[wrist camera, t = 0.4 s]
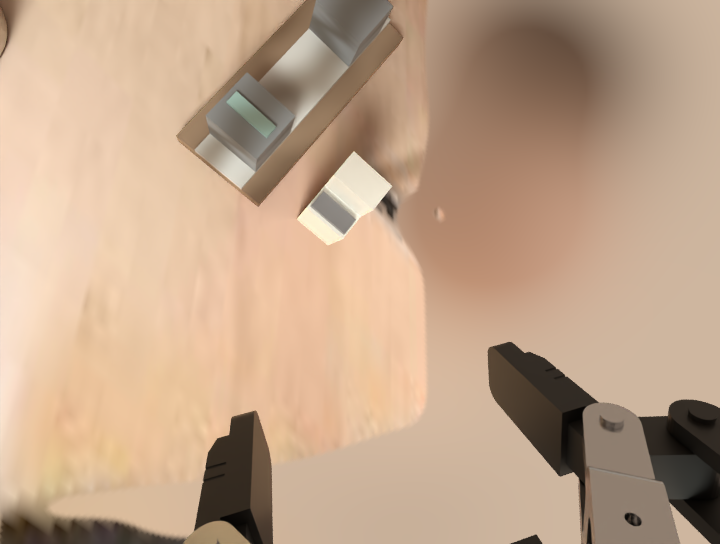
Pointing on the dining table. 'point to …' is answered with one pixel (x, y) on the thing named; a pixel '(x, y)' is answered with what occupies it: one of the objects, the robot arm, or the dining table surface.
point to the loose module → (344, 200)
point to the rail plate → (290, 92)
